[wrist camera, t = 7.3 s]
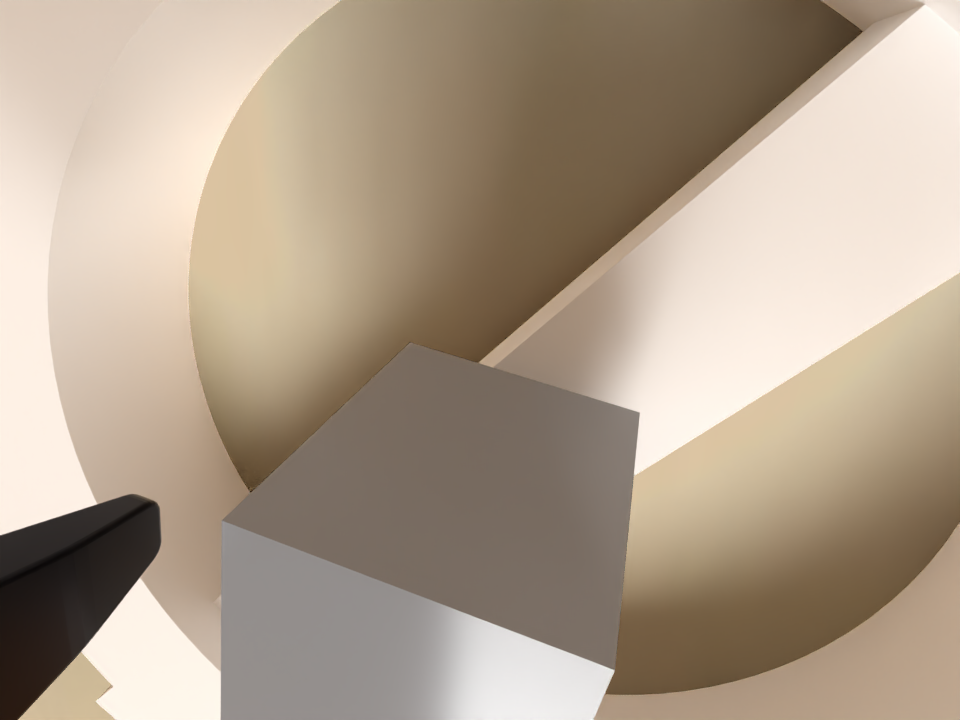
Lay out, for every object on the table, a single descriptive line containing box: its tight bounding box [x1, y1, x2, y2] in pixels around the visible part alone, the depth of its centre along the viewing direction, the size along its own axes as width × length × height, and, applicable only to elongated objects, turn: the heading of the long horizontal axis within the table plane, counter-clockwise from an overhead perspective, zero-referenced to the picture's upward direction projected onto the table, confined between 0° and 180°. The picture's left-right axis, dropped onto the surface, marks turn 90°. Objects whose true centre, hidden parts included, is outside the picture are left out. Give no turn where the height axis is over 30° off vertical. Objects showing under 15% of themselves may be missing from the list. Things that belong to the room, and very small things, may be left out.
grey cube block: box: [221, 342, 640, 720], centre depth 9 cm, size 5×4×5 cm
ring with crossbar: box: [0, 0, 960, 720], centre depth 14 cm, size 28×28×5 cm
